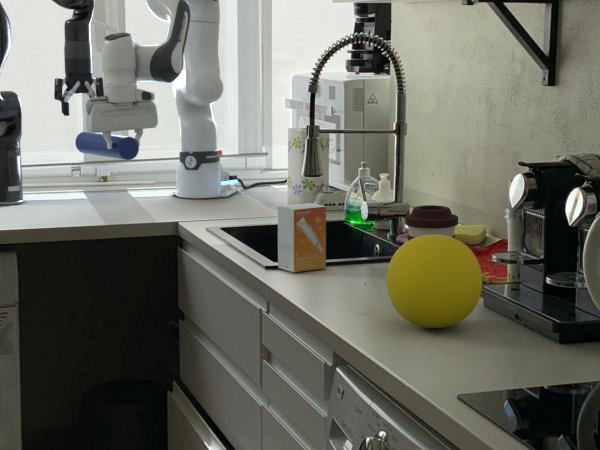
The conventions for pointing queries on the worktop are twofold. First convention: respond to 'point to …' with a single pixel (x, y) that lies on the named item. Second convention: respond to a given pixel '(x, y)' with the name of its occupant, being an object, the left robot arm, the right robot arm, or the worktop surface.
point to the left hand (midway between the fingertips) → (80, 114)
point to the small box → (301, 237)
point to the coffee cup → (431, 221)
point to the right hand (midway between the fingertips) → (123, 147)
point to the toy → (434, 281)
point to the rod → (98, 145)
